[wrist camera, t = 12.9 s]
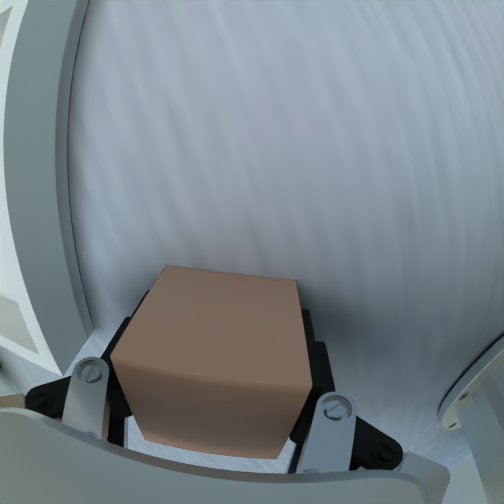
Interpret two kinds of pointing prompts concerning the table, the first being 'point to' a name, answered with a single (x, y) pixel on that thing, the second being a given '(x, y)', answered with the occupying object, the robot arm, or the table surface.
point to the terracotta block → (216, 362)
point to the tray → (38, 184)
